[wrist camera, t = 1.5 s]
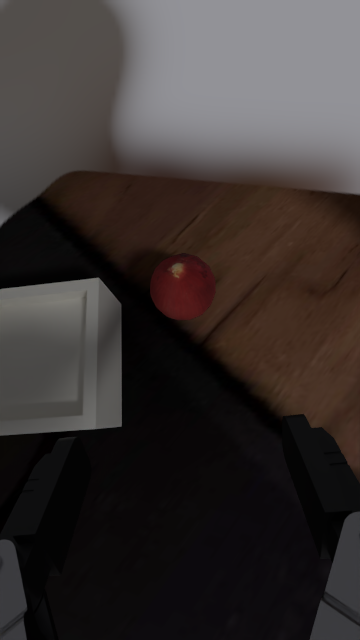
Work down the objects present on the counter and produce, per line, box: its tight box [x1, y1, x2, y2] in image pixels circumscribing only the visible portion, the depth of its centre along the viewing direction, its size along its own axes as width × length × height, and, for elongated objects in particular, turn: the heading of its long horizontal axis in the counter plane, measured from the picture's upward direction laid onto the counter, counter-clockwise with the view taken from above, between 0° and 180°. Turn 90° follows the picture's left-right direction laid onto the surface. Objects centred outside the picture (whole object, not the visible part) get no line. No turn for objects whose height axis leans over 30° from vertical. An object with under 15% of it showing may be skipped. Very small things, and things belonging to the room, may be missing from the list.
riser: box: [0, 278, 122, 435], centre depth 27 cm, size 12×12×6 cm
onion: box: [150, 253, 215, 320], centre depth 27 cm, size 6×6×8 cm
